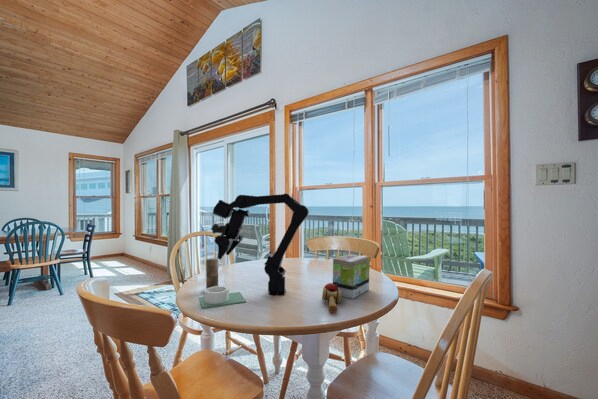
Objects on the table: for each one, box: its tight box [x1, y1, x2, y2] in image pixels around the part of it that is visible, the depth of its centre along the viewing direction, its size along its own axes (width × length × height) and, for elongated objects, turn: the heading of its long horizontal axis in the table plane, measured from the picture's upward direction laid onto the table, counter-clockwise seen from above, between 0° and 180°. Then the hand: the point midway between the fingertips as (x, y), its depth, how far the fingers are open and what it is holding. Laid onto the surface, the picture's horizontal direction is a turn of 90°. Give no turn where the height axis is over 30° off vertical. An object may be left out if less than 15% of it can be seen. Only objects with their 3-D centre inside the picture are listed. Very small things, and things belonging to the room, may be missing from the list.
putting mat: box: [198, 285, 247, 309], centre depth 109 cm, size 16×12×4 cm
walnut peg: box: [205, 257, 219, 290], centre depth 123 cm, size 5×5×13 cm
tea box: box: [332, 253, 370, 300], centre depth 119 cm, size 15×10×15 cm, turn 143°
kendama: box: [321, 282, 342, 314], centre depth 105 cm, size 8×6×18 cm
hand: (223, 256), depth 121 cm, fingers open, 9 cm apart
